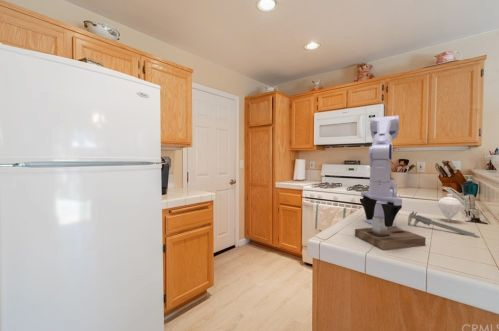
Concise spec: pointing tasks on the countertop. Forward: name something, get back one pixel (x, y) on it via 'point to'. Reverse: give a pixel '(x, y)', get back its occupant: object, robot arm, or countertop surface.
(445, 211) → the spinning top
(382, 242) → the socket block
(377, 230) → the peg
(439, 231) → the countertop surface
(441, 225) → the caliper
